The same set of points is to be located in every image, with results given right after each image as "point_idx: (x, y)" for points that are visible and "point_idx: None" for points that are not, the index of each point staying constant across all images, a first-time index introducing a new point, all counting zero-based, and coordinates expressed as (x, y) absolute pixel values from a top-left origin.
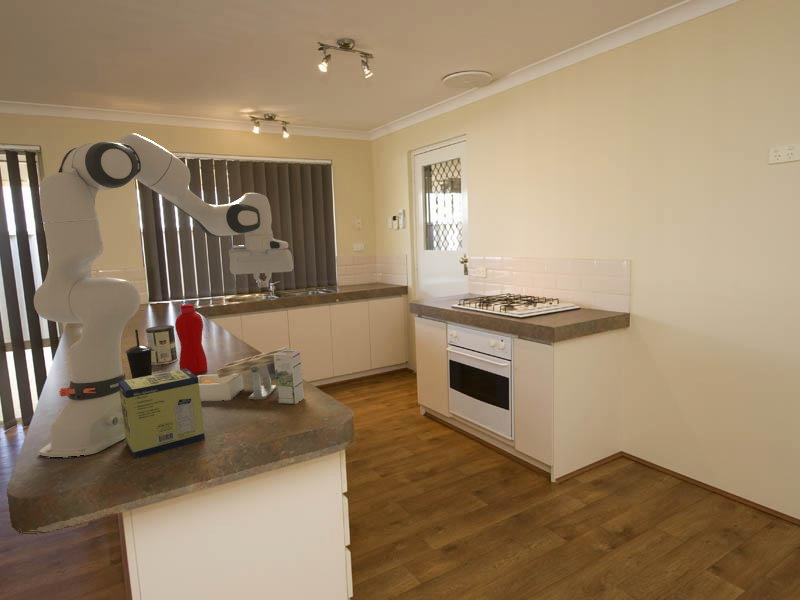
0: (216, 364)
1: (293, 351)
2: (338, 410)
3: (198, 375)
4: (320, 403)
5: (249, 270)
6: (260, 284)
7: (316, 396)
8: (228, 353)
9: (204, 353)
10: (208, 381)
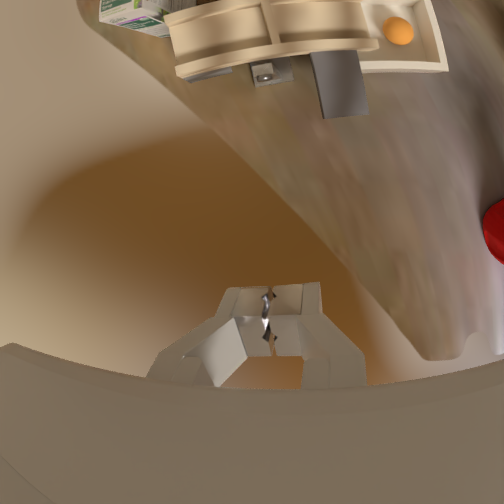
0: (475, 277)
1: (105, 2)
2: (91, 16)
3: (447, 68)
4: (124, 27)
5: (425, 416)
6: (288, 295)
7: (144, 54)
8: (464, 345)
9: (502, 259)
10: (396, 25)
